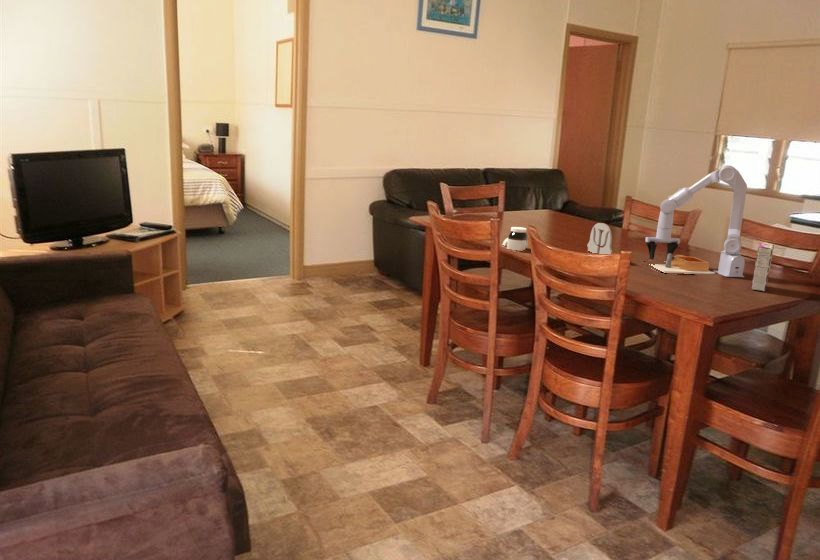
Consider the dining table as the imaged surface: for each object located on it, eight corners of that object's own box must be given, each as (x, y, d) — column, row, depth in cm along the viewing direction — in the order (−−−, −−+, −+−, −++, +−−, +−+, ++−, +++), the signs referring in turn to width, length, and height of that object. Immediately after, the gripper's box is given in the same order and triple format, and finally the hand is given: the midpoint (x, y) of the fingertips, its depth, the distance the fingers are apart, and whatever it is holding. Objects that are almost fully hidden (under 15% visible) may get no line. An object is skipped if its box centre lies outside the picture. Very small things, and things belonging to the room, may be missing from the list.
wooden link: (708, 271, 256) (709, 262, 255) (685, 270, 255) (686, 261, 254) (688, 263, 270) (689, 255, 269) (666, 262, 269) (668, 254, 268)
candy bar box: (752, 284, 242) (760, 242, 238) (766, 286, 239) (774, 244, 235) (749, 289, 232) (758, 246, 229) (765, 291, 230) (773, 248, 226)
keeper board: (714, 275, 253) (717, 258, 252) (663, 274, 251) (666, 256, 249) (688, 265, 273) (690, 249, 271) (640, 263, 270) (642, 247, 269)
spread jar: (520, 257, 269) (523, 230, 267) (496, 253, 275) (498, 227, 272) (529, 253, 279) (532, 227, 277) (506, 249, 285) (508, 224, 282)
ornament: (612, 267, 259) (618, 227, 255) (584, 267, 256) (589, 227, 252) (585, 256, 280) (589, 219, 276) (558, 256, 276) (562, 218, 273)
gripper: (675, 226, 267) (671, 257, 271) (643, 225, 266) (639, 256, 269) (684, 229, 261) (679, 261, 264) (651, 228, 259) (647, 260, 262)
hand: (659, 259), depth 266 cm, fingers open, 7 cm apart
